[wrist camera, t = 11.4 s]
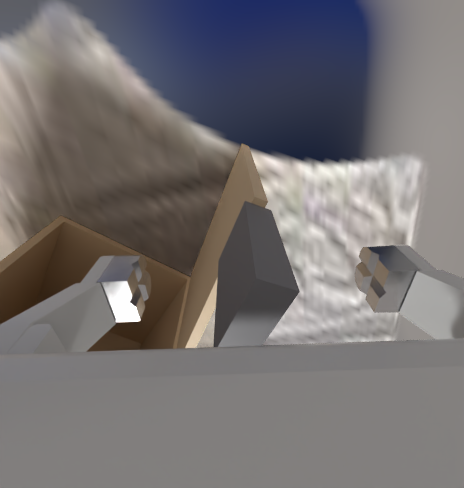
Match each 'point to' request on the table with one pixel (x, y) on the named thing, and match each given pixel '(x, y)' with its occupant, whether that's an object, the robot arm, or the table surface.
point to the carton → (75, 269)
